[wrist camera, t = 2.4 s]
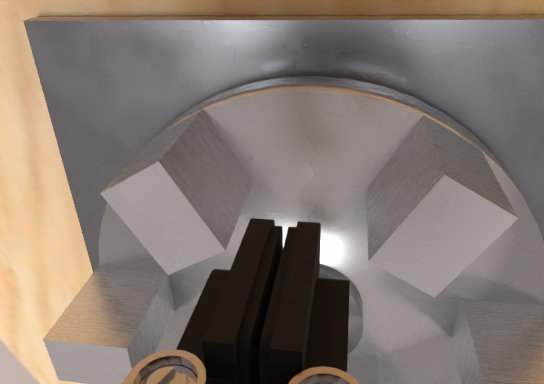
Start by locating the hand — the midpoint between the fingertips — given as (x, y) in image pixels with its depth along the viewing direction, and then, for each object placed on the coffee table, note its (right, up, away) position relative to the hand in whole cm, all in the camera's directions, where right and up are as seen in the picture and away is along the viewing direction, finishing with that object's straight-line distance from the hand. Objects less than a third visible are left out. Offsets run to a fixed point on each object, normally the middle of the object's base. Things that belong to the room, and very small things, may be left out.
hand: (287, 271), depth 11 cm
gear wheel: (+2, -2, +12) cm, 12 cm away
